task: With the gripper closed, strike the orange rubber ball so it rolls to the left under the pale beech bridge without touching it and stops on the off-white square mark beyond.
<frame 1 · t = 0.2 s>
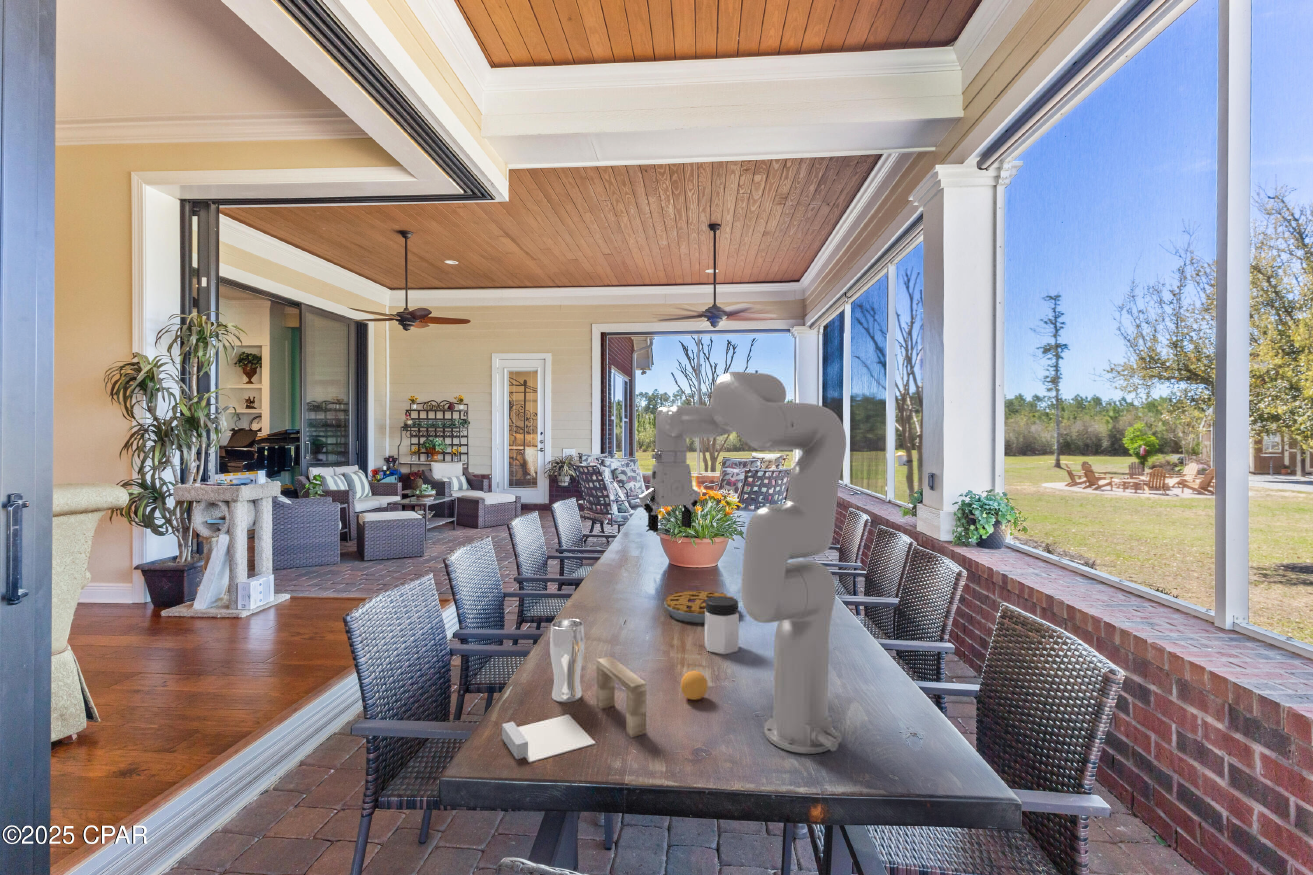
hand: (670, 529, 148), 31 cm above the table, tool pointing down, fingers open, 9 cm apart
stopper wall: (514, 746, 106), on the table
bridge: (620, 718, 116), on the table
ball: (694, 685, 125), on the table
jar: (721, 648, 154), on the table
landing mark: (550, 737, 109), on the table
pie: (700, 614, 182), on the table
beer glass: (566, 696, 126), on the table
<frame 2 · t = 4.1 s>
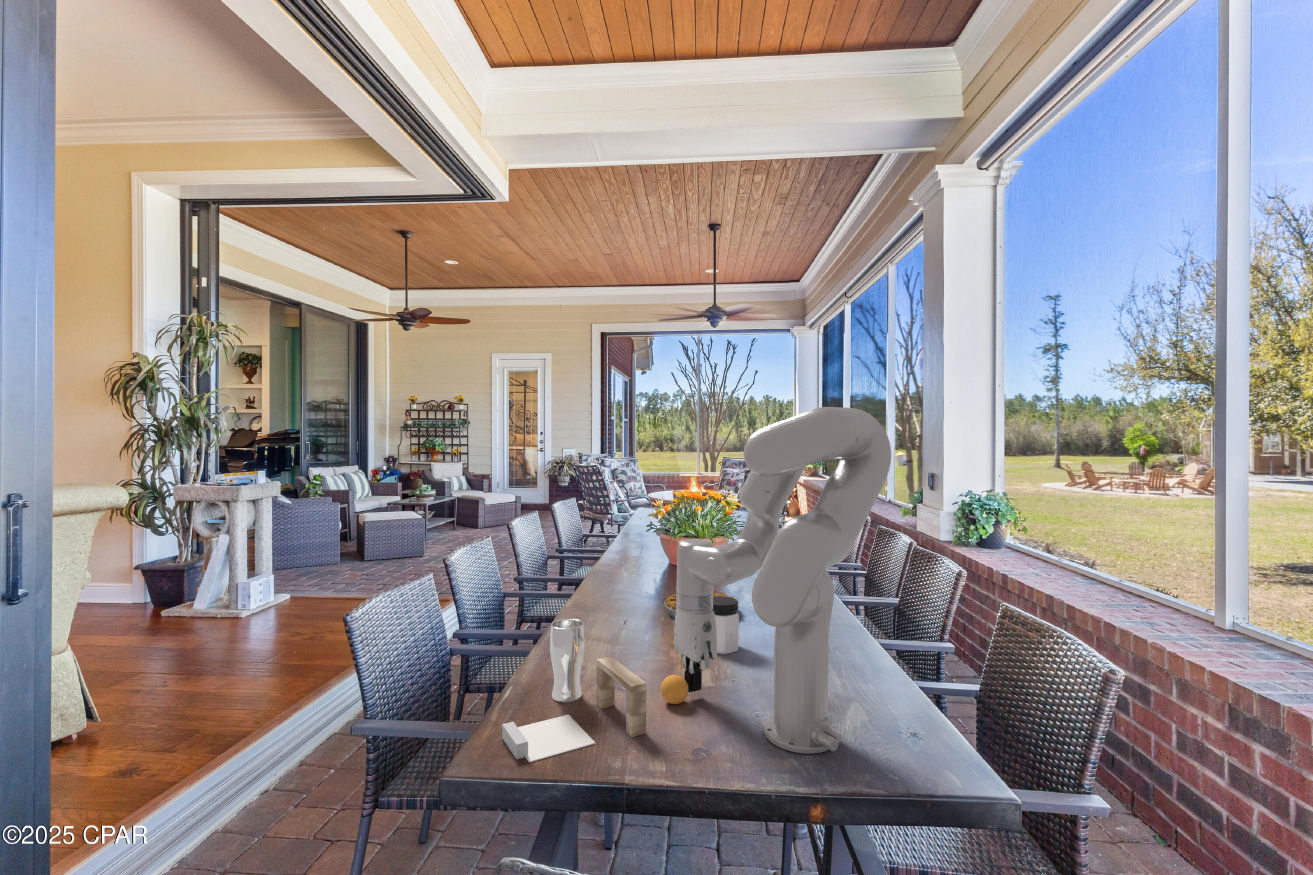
hand: (692, 689, 126), 2 cm above the table, tool pointing down, fingers closed
ball: (674, 689, 123), on the table
everything else where it was.
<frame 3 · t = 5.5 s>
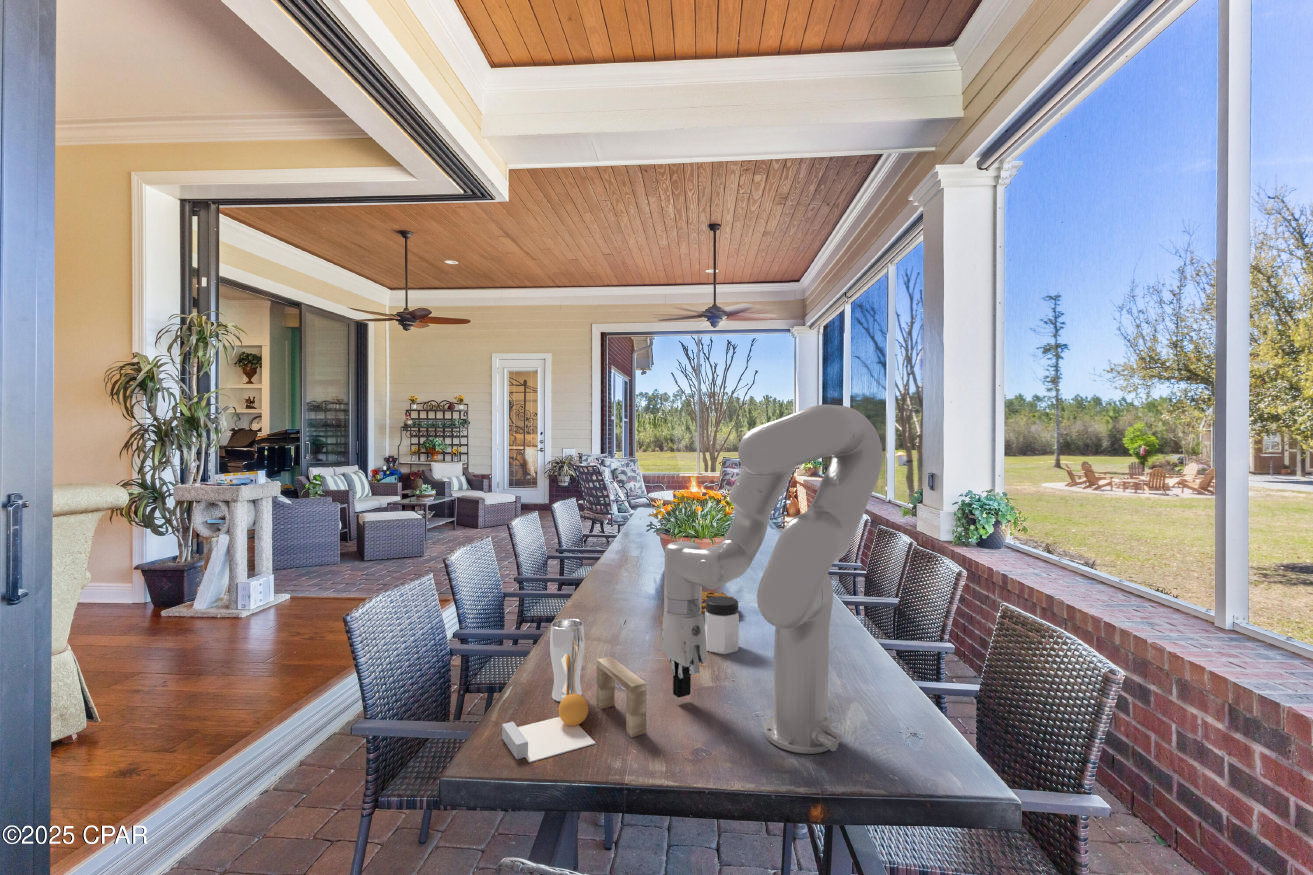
hand: (681, 694, 124), 2 cm above the table, tool pointing down, fingers closed
ball: (573, 709, 114), on the table
everything else where it was.
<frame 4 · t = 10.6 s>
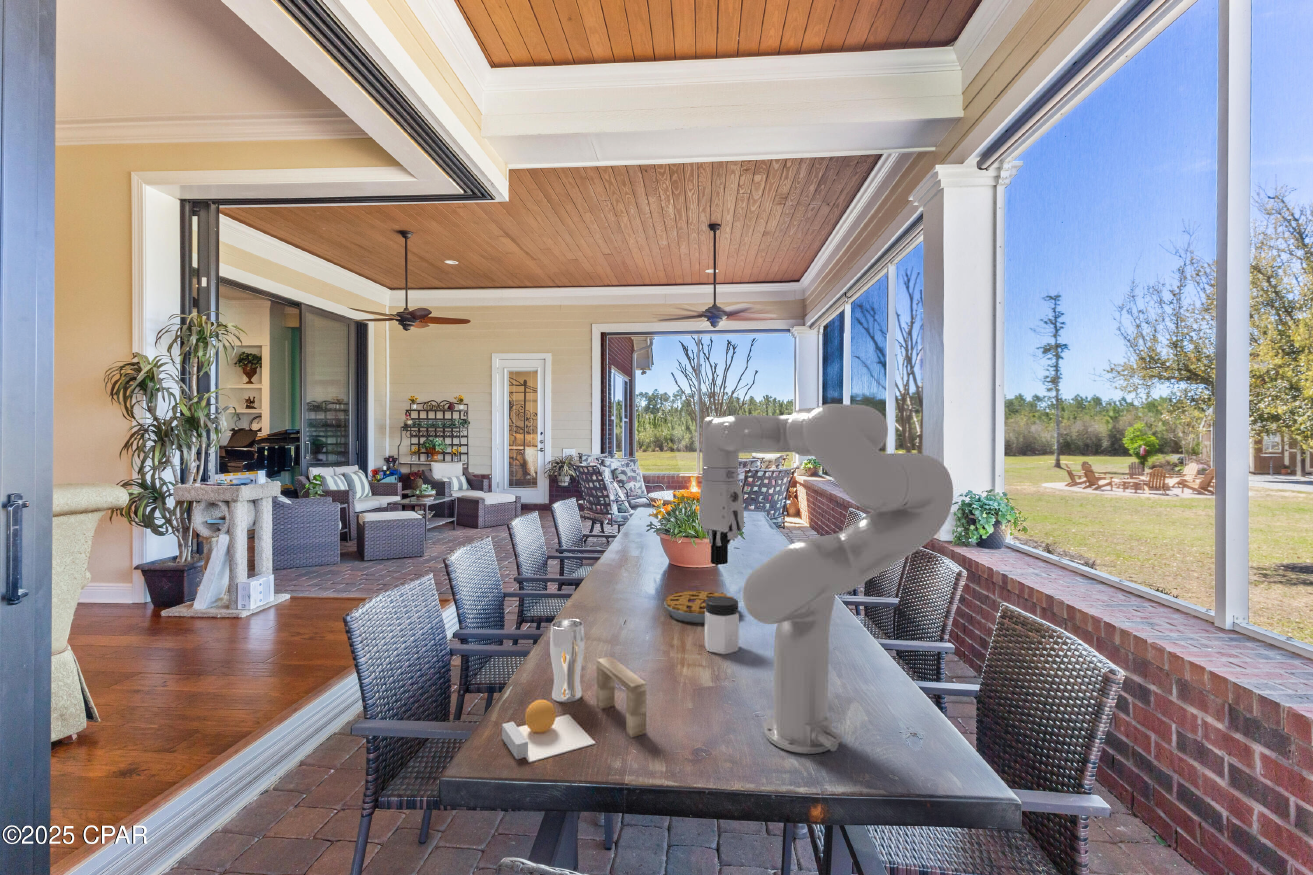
hand: (719, 563, 128), 27 cm above the table, tool pointing down, fingers closed
ball: (540, 715, 111), on the table
everything else where it was.
at the end: ball 3.1 cm from the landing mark (horizontally); ball never touched bridge; ball at rest at the end (0.0 cm/s) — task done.
